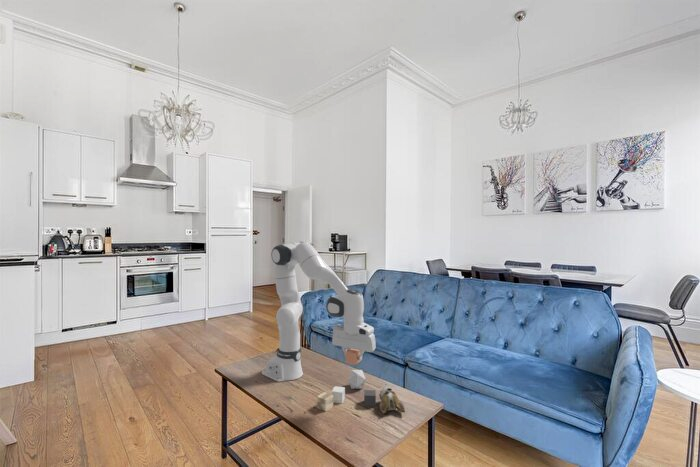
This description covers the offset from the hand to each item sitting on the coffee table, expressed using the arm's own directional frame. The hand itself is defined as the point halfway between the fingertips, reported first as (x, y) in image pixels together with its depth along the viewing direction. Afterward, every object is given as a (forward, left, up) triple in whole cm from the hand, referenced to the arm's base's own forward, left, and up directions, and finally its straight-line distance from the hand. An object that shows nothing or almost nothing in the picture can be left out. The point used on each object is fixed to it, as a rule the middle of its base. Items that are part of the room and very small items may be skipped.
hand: (353, 358), depth 141 cm
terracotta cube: (0, 0, -2) cm, 2 cm away
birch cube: (-10, -7, -21) cm, 24 cm away
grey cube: (-8, +1, -21) cm, 23 cm away
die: (-6, +16, -21) cm, 27 cm away
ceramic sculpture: (+15, +6, -21) cm, 27 cm away
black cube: (+6, +5, -21) cm, 23 cm away
